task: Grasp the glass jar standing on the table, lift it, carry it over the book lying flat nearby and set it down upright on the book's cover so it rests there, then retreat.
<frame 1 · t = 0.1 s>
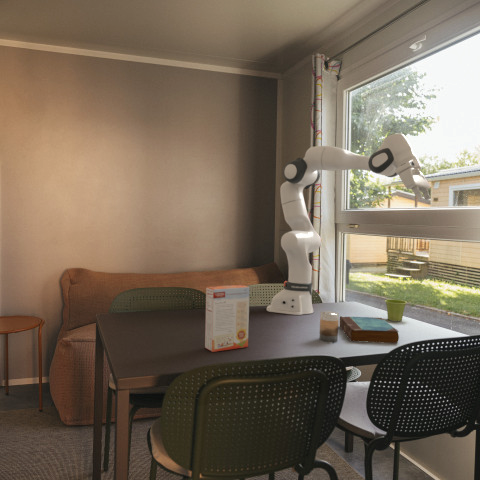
hand: (424, 198, 179), 54 cm above the table, tool tilted 30°, fingers open, 8 cm apart
book: (367, 336, 177), on the table
plant pot: (394, 320, 206), on the table
glass jar: (328, 339, 167), on the table
cracker box: (226, 348, 152), on the table
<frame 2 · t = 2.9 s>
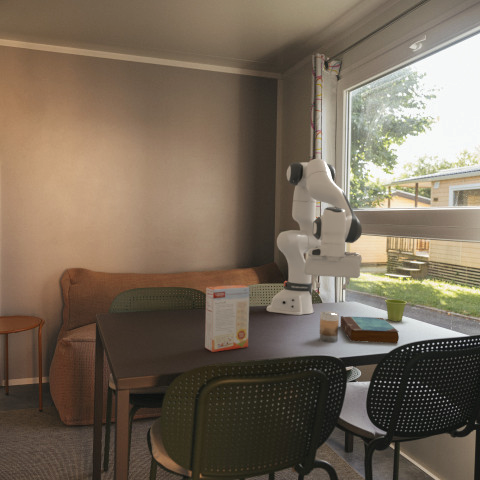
hand: (330, 288, 166), 19 cm above the table, tool pointing down, fingers open, 8 cm apart
nothing on the table moved.
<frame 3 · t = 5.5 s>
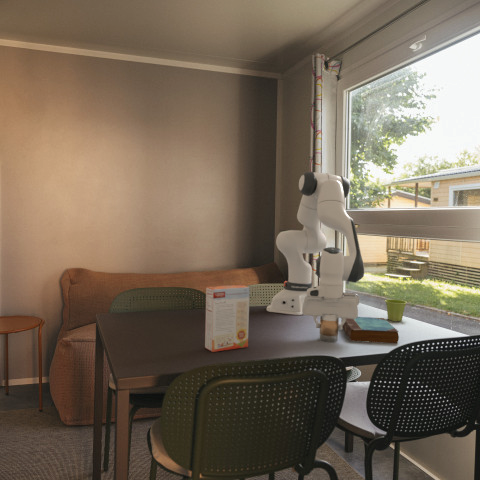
hand: (328, 328, 167), 4 cm above the table, tool pointing down, fingers closed on glass jar, 7 cm apart
glass jar: (328, 339, 167), on the table, touching gripper
everything else where it was.
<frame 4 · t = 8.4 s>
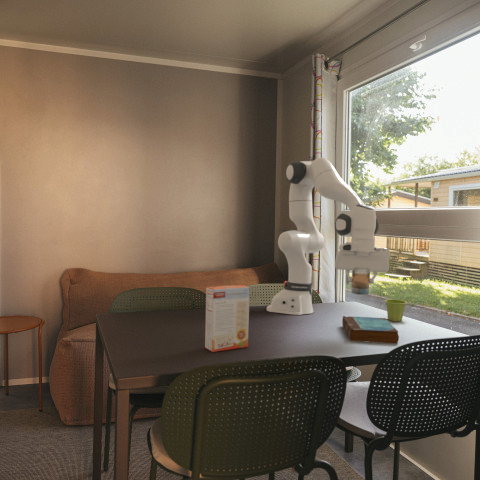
hand: (360, 282, 174), 21 cm above the table, tool pointing down, fingers closed on glass jar, 7 cm apart
glass jar: (359, 293, 174), point 17 cm above the table, touching gripper
everything else where it was.
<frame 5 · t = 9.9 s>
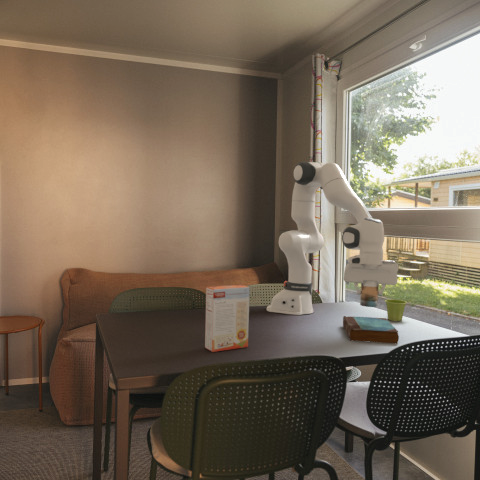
hand: (369, 294, 176), 16 cm above the table, tool pointing down, fingers closed on glass jar, 7 cm apart
glass jar: (368, 305, 177), point 12 cm above the table, touching gripper
everything else where it was.
when the fingers open (11 cm above the table, at t = 11.4 s): glass jar drops 2 cm, resting on book.
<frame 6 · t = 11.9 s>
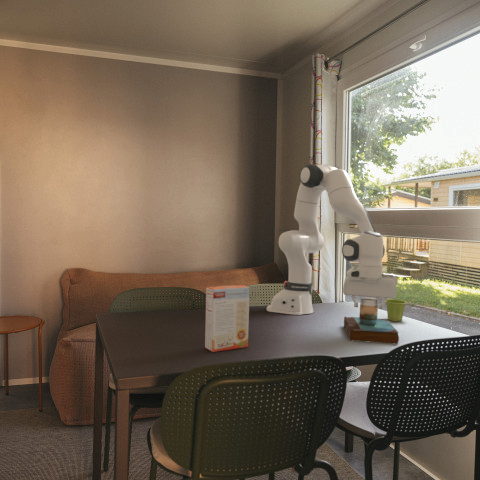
hand: (368, 307, 177), 11 cm above the table, tool pointing down, fingers open, 8 cm apart
book: (369, 337, 177), on the table, touching glass jar
glass jar: (367, 323, 177), point 4 cm above the table, touching book
everything else where it was.
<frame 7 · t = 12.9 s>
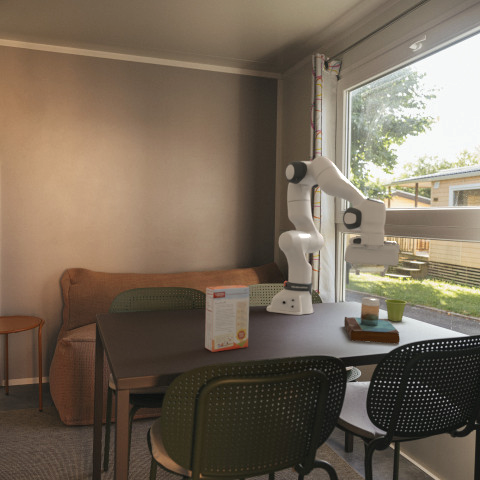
hand: (369, 275, 176), 23 cm above the table, tool pointing down, fingers open, 8 cm apart
nothing on the table moved.
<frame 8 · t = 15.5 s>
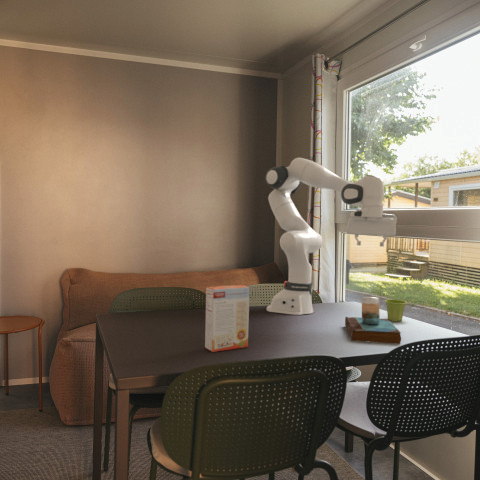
hand: (370, 245, 192), 34 cm above the table, tool pointing down, fingers open, 8 cm apart
glass jar: (370, 323, 177), point 5 cm above the table, tilted 6°, touching book
everything else where it was.
at the end: glass jar touching book; glass jar tilted 6° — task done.
